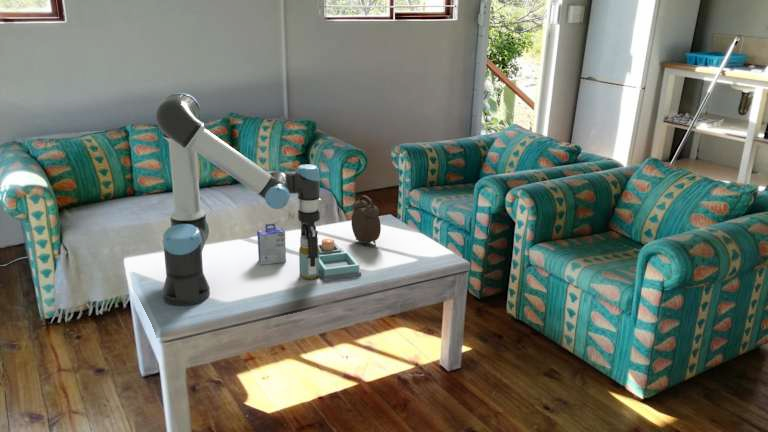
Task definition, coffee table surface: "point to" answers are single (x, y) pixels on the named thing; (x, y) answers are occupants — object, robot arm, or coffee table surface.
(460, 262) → the coffee table surface
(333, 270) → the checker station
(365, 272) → the coffee table surface
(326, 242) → the button
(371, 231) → the alarm clock
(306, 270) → the bottle
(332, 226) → the coffee table surface
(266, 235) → the ink cartridge box
